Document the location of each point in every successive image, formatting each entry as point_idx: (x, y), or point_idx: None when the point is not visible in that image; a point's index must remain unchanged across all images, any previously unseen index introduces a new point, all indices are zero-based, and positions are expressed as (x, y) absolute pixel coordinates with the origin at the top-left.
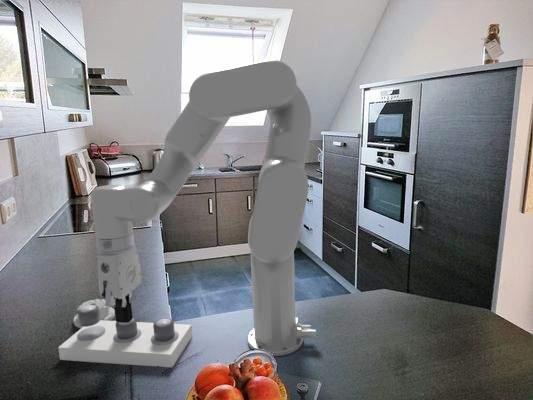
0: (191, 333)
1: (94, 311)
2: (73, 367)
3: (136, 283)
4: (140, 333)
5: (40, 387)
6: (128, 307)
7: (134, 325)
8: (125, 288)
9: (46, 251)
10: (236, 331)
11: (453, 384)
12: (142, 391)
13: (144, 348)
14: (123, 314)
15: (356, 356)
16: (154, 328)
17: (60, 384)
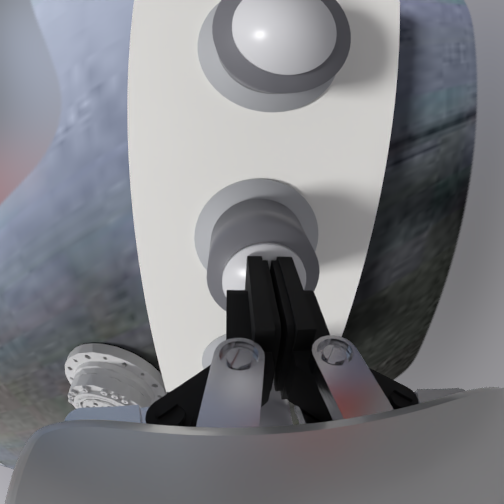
0: None
1: (271, 424)
2: (351, 320)
3: (201, 483)
4: (242, 184)
5: (408, 335)
6: (300, 317)
7: (275, 220)
8: (499, 462)
9: (15, 461)
10: None
11: None
12: (466, 88)
13: (364, 116)
14: (317, 310)
15: None
16: (333, 74)
17: (410, 306)
